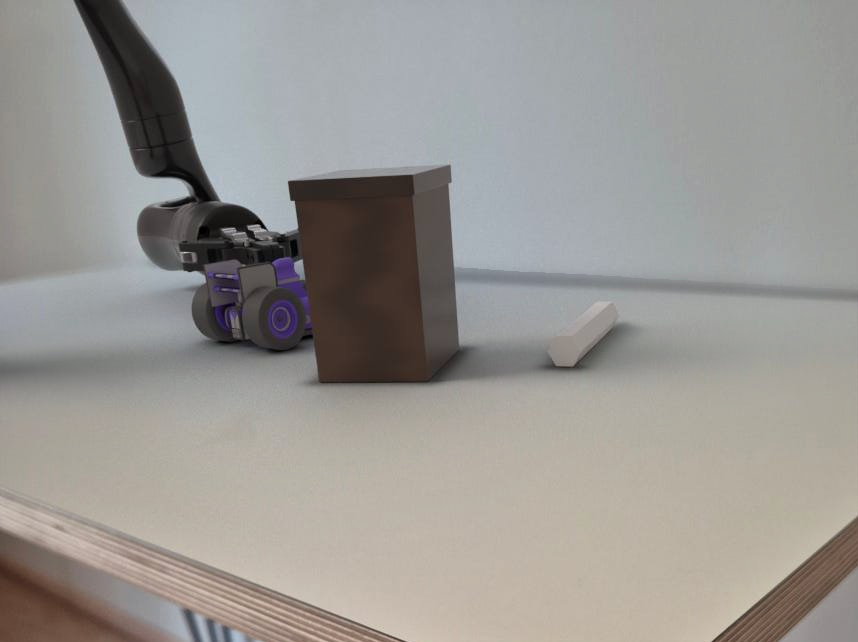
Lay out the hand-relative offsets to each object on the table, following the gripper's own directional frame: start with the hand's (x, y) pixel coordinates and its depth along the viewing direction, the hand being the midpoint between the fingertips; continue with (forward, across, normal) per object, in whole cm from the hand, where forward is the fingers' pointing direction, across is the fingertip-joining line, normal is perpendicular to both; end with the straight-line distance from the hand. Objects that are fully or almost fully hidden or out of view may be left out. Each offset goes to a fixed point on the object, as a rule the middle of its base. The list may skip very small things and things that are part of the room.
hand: (273, 258), depth 84 cm
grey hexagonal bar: (+24, +17, +6) cm, 30 cm away
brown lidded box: (+20, +2, +6) cm, 21 cm away
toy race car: (+3, 0, +6) cm, 7 cm away
